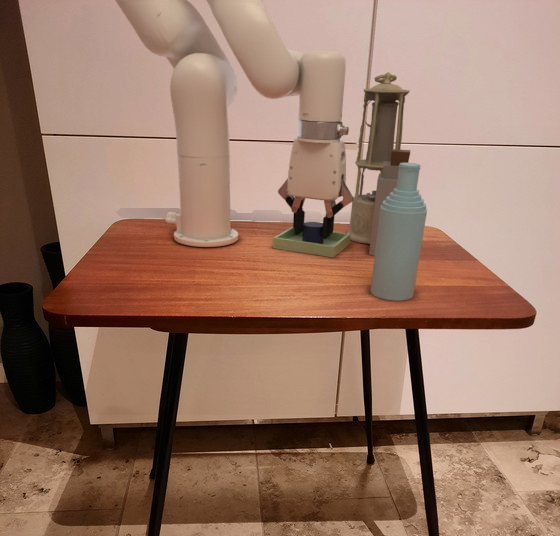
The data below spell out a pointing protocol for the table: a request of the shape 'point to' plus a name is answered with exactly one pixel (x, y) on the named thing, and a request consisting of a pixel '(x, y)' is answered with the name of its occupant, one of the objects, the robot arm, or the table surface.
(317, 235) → the cap
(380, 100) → the lamp
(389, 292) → the bottle
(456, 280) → the table surface
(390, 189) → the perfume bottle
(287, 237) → the tray
